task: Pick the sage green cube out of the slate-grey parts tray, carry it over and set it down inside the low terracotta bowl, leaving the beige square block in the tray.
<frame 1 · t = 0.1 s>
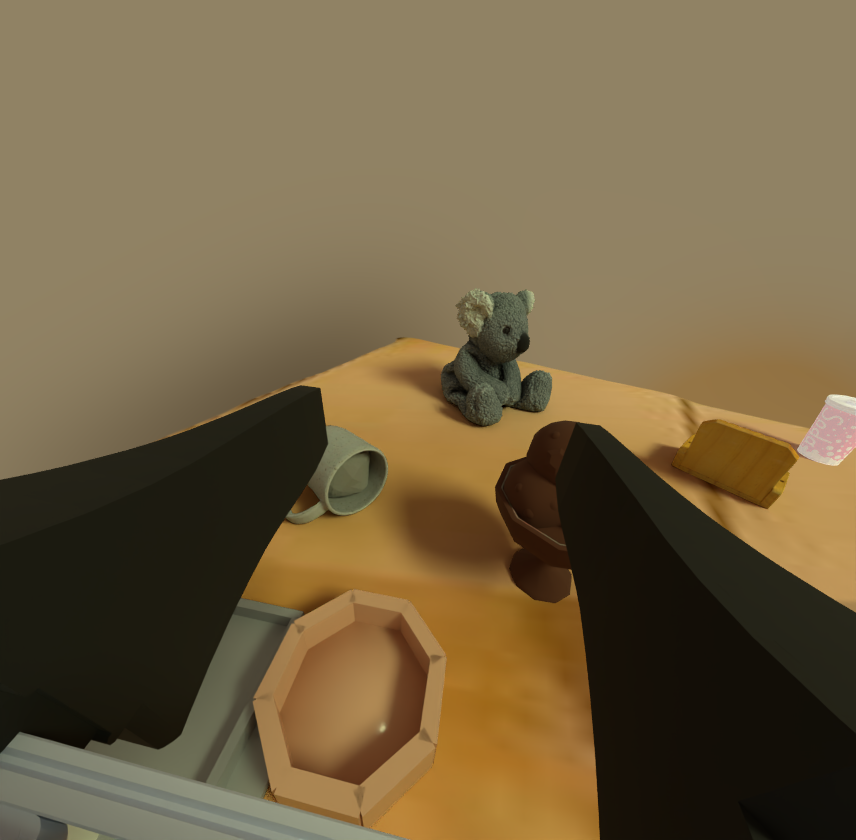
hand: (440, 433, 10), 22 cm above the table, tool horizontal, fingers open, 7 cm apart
ceramic mug: (333, 499, 37), on the table
ice cream bowl: (539, 574, 31), on the table
koala plush: (483, 400, 61), on the table
bowl: (357, 698, 22), on the table
yellow bent piece: (719, 480, 45), on the table
beverage cup: (816, 457, 51), on the table
parts tray: (122, 755, 19), on the table
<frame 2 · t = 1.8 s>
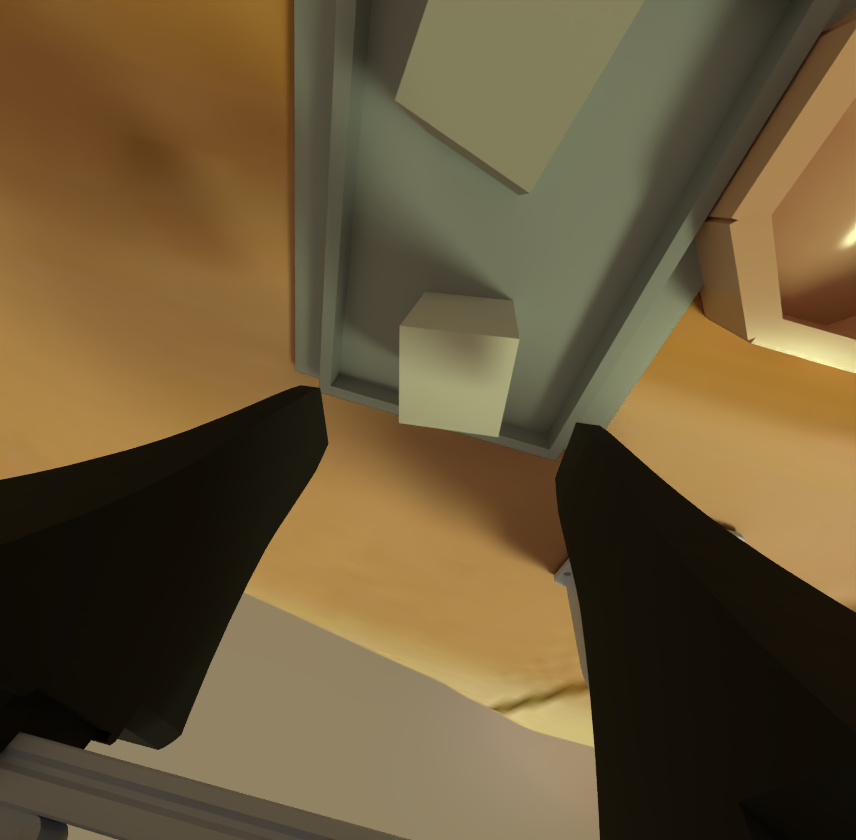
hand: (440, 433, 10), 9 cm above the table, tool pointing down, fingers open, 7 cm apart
sage green cube: (463, 338, 16), resting on parts tray
beige square block: (506, 99, 11), resting on parts tray
parts tray: (490, 248, 14), on the table
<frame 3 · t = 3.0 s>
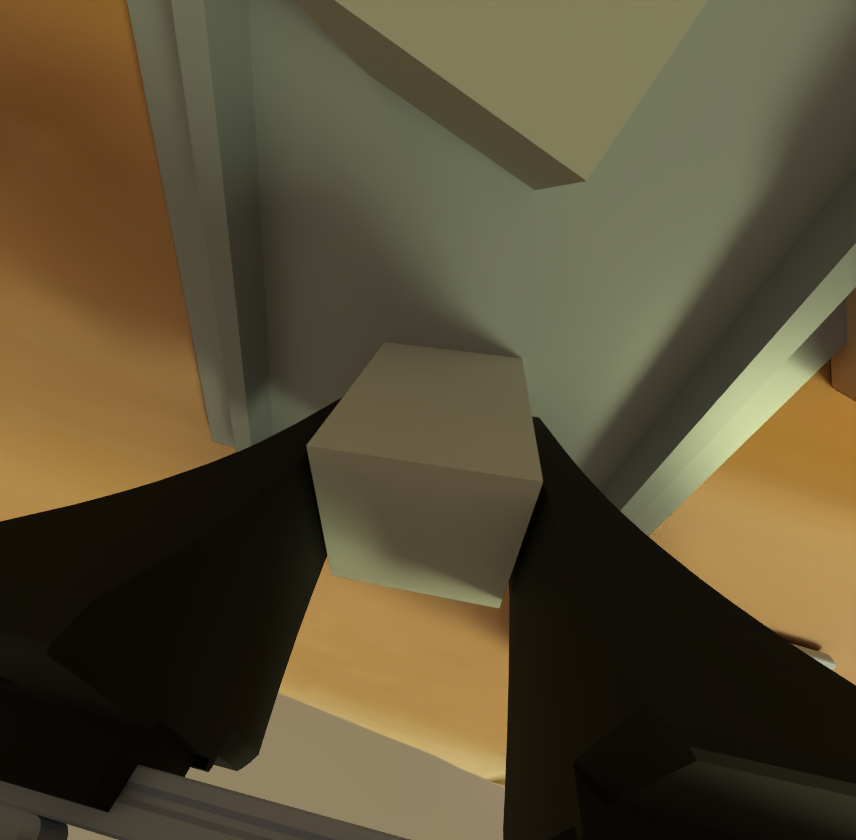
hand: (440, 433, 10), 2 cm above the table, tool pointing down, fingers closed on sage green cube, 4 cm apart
sage green cube: (446, 408, 11), resting on parts tray, touching gripper
beige square block: (514, 4, 6), resting on parts tray
parts tray: (486, 277, 9), on the table
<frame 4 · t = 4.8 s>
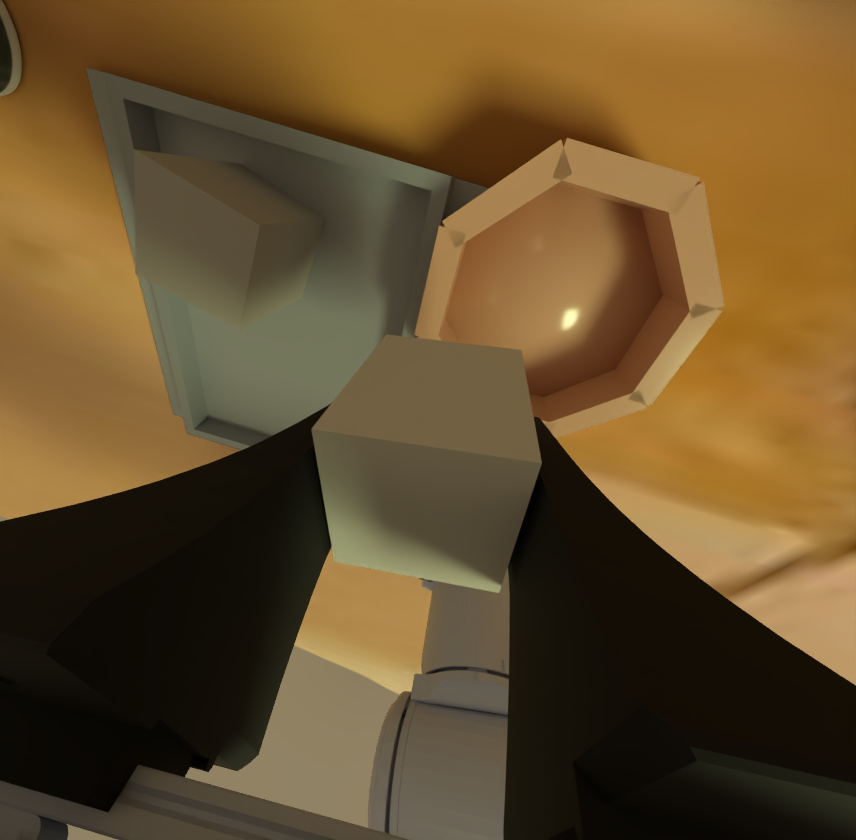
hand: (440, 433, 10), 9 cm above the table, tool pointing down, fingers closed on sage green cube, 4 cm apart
bowl: (544, 304, 16), on the table
sage green cube: (446, 400, 11), point 7 cm above the table, touching gripper
beige square block: (273, 237, 15), resting on parts tray
parts tray: (298, 330, 18), on the table
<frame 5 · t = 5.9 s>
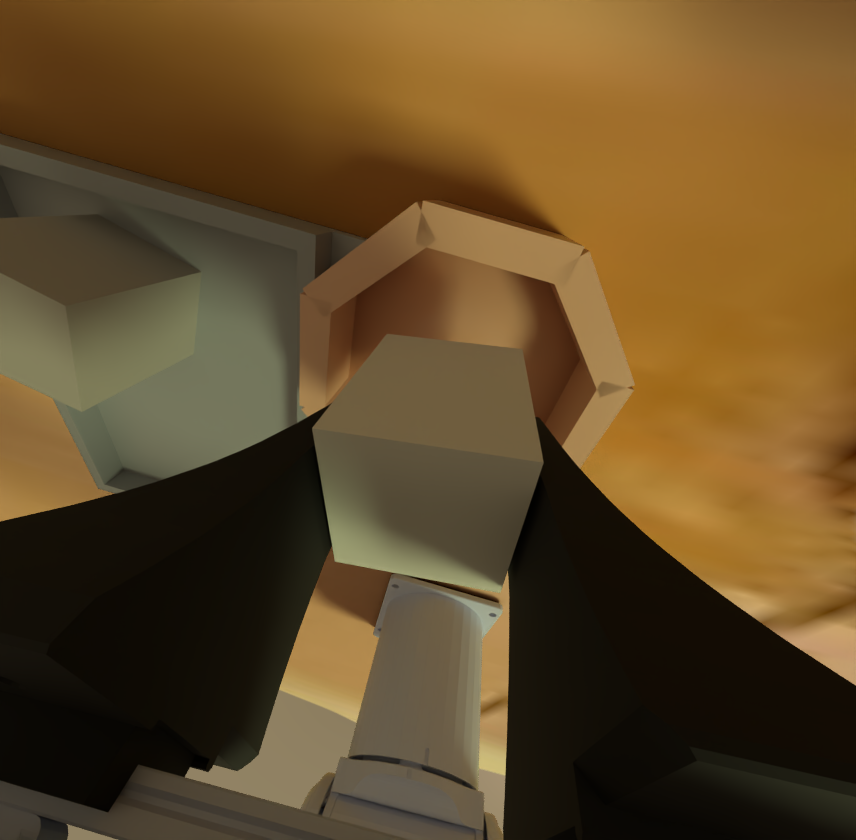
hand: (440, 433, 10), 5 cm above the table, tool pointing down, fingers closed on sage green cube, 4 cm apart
bowl: (456, 362, 14), on the table
sage green cube: (447, 399, 11), point 3 cm above the table, touching gripper
beige square block: (150, 291, 14), resting on parts tray
parts tray: (200, 384, 17), on the table
when the fingers open (4 cm above the table, at t = 6.6 s): sage green cube drops 1 cm, resting on bowl.
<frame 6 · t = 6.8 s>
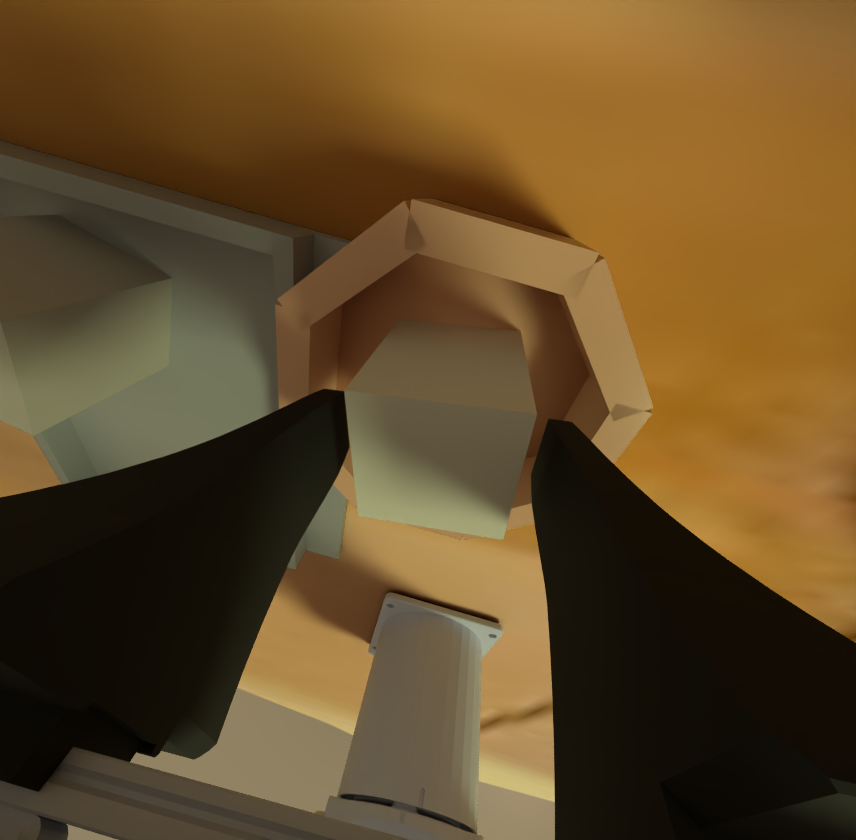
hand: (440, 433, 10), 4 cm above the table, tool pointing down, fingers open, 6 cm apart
bowl: (453, 376, 13), on the table
sage green cube: (453, 379, 12), point 1 cm above the table, touching bowl
beige square block: (118, 298, 13), resting on parts tray
parts tray: (178, 397, 16), on the table
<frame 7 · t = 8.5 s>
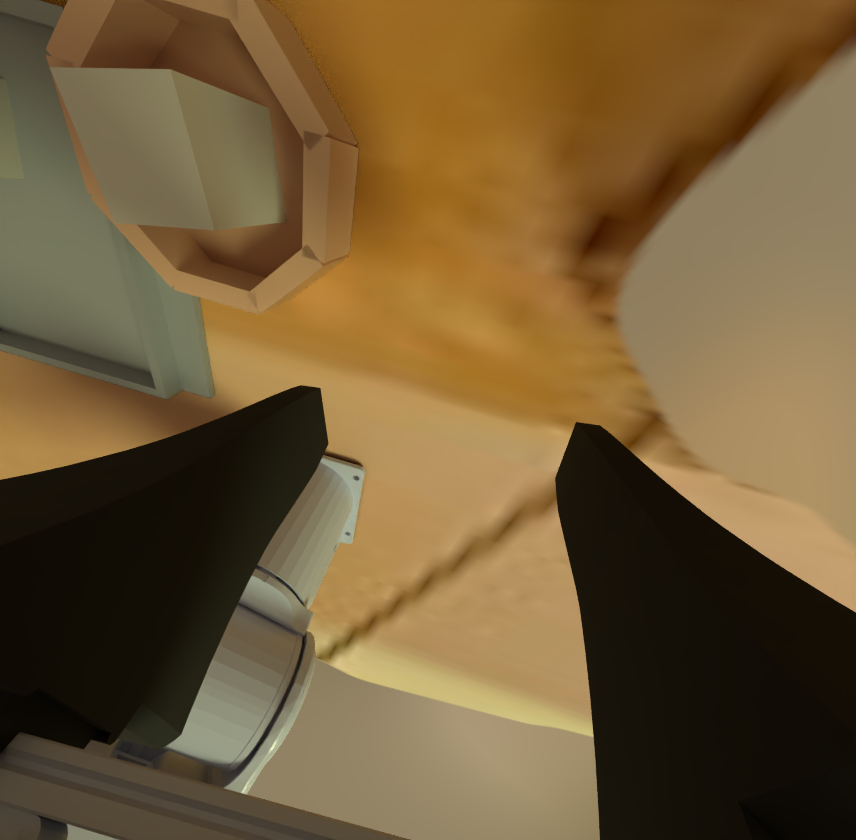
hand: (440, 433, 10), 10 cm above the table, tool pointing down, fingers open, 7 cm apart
bowl: (244, 172, 16), on the table
sage green cube: (236, 167, 15), point 1 cm above the table, touching bowl
parts tray: (44, 221, 18), on the table
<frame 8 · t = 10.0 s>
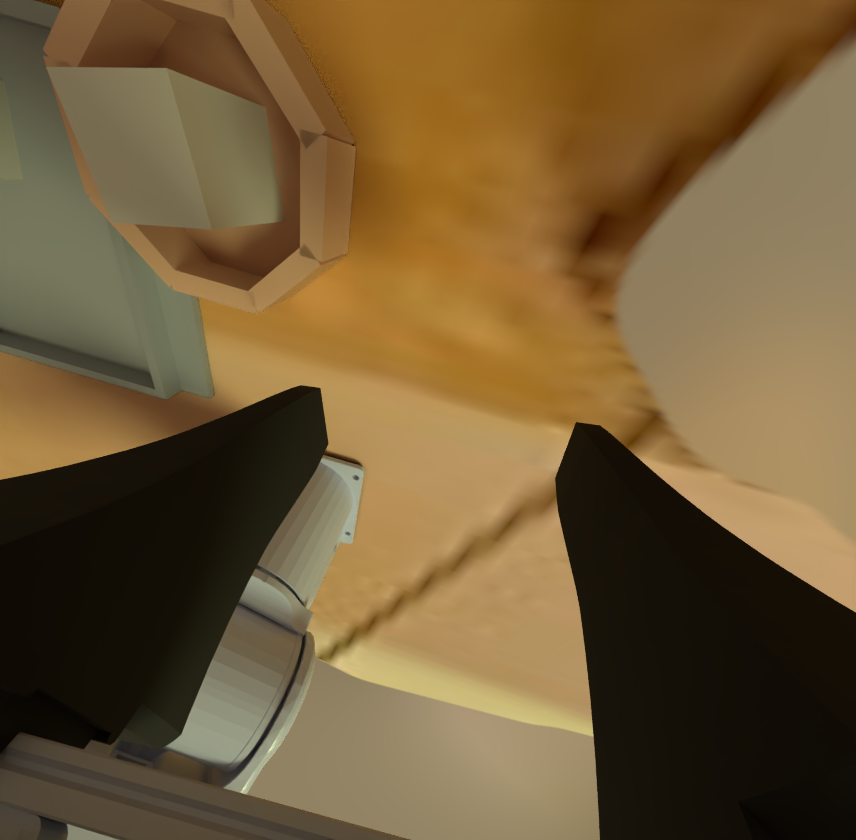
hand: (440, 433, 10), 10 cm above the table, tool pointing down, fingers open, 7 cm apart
bowl: (242, 172, 16), on the table
sage green cube: (234, 166, 15), point 1 cm above the table, touching bowl
parts tray: (43, 222, 18), on the table
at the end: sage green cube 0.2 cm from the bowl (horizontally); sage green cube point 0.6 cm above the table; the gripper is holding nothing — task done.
